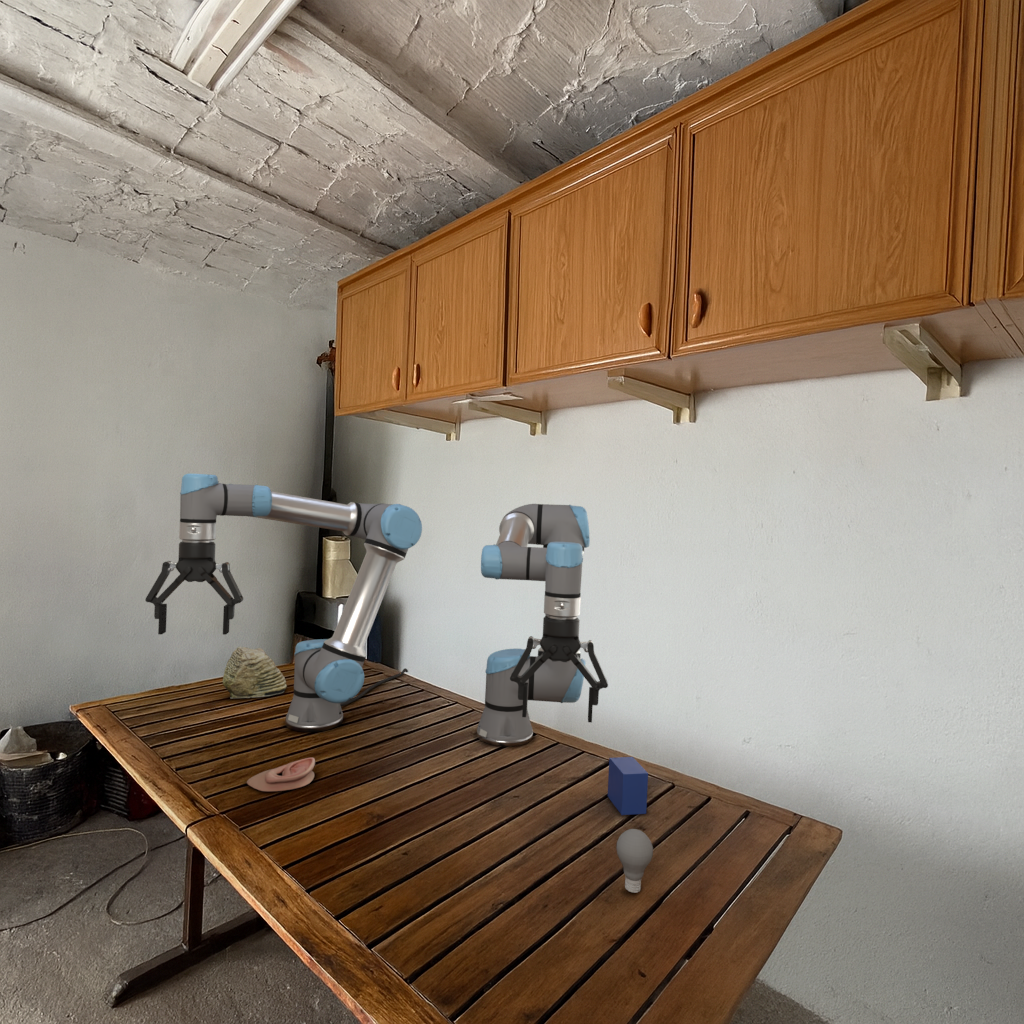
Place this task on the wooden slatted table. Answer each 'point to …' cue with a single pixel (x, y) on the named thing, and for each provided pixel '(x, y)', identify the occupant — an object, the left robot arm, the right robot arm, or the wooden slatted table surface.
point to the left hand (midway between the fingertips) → (194, 633)
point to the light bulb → (634, 857)
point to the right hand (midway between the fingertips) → (557, 717)
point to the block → (627, 785)
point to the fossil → (252, 674)
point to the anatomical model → (284, 776)
